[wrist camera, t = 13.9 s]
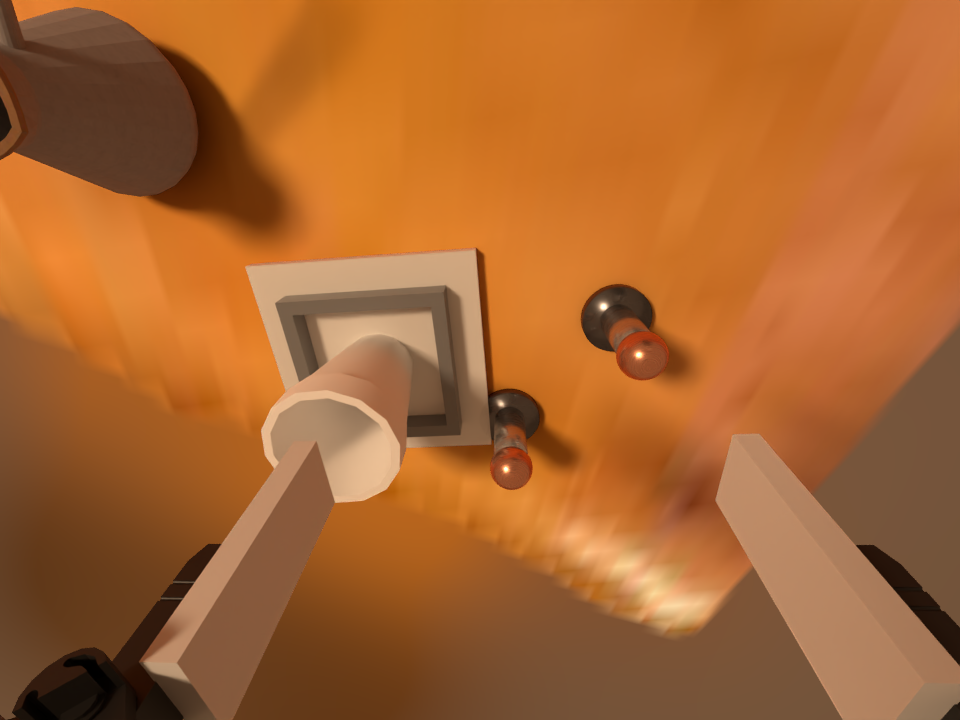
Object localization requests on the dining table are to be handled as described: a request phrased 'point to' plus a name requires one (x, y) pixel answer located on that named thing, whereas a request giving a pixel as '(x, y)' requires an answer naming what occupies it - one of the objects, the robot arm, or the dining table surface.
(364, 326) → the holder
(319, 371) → the foam cup
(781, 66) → the dining table surface
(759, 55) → the dining table surface
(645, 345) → the pegs
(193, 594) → the robot arm
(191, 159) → the coffee pot
